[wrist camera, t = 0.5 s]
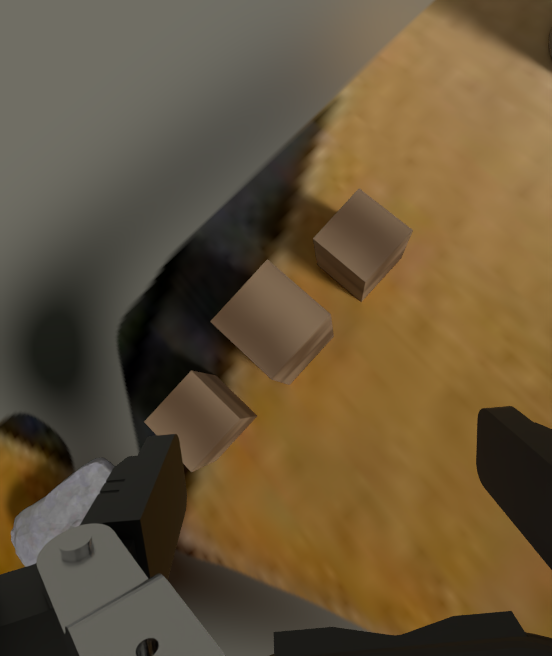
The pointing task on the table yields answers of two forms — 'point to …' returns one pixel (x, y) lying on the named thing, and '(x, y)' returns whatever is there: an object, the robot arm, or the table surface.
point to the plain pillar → (275, 324)
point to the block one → (361, 244)
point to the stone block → (58, 510)
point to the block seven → (201, 418)
